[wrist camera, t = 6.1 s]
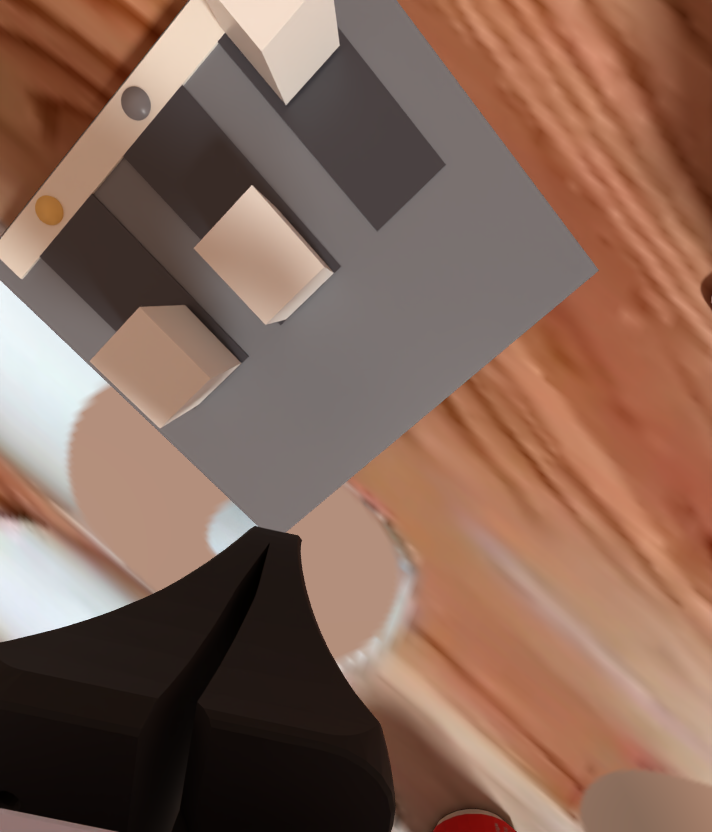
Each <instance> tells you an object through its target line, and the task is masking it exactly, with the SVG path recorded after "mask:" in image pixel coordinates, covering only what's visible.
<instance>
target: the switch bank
mask: <svg viewBox="0 0 712 832" xmlns="http://www.w3.org/2000/svg"><path fill="white" fill-rule="evenodd" d="M334 5H335V13H336V21H337V28H338V36H339V44H340V46H339V47H338V48H337V49H336V50H335V51H334V52H333V54H332V55H331V56H330V57H329V58H328V59H327V60H326V61H325V62H324V64H323V65H322V66H321V67H320V68H319V69H318V70H317V71H316V72H315V74H314V75H313V76H312V77H311V78H310V79H309V80H308V81H307V82H306V84H305V85H304V86H303V87H302V88H301V89H300V90H299V91H298V92H297V94H296V95H295V96H294V97H293V98H292V99H291V100H290V101H289V103H288V104H287V105H285V104H284V102H283V101H282V100H281V99H280V98H279V96H278V95H277V94H276V93H275V92H274V90H273V89H272V88H271V87H270V86H269V84H268V83H267V82H266V81H265V80H264V78H263V77H262V76H261V75H260V74H259V73H258V71H257V70H256V69H255V68H254V67H253V65H252V64H251V63H250V62H249V61H248V59H247V58H246V57H245V56H244V55H243V53H242V52H241V51H240V50H239V49H238V47H237V46H236V45H235V44H234V43H233V41H232V40H231V39H230V38H229V37H228V35H227V34H226V33H225V32H224V31H223V29H222V28H221V26H220V24H219V23H218V21H217V19H216V17H215V16H214V14H213V12H212V10H211V8H210V7H209V5H208V3H207V1H206V0H188V2H187V3H186V4H185V5H184V7H183V8H182V9H181V10H180V12H179V13H178V14H177V15H176V17H175V18H174V19H173V21H172V22H171V23H170V24H169V26H168V27H167V28H166V29H165V31H164V32H163V33H162V34H161V36H160V37H159V38H158V39H157V41H156V42H155V43H154V44H153V46H152V47H151V48H150V49H149V51H148V52H147V53H146V55H145V56H144V57H143V58H142V60H141V61H140V62H139V63H138V65H137V66H136V67H135V68H134V70H133V71H132V72H131V73H130V75H129V76H128V77H127V78H126V80H125V81H124V82H123V83H122V85H121V86H120V87H119V89H118V90H117V91H116V92H115V94H114V95H113V96H112V97H111V99H110V100H109V101H108V102H107V104H106V105H105V106H104V107H103V109H102V110H101V111H100V112H99V114H98V115H97V116H96V117H95V119H94V120H93V121H92V123H91V124H90V125H89V126H88V128H87V129H86V130H85V131H84V133H83V134H82V135H81V136H80V138H79V139H78V140H77V141H76V143H75V144H74V145H73V146H72V148H71V149H70V150H69V151H68V153H67V154H66V155H65V157H64V158H63V159H62V160H61V162H60V163H59V164H58V165H57V167H56V168H55V169H54V170H53V172H52V173H51V174H50V175H49V177H48V178H47V179H46V180H45V182H44V183H43V184H42V185H41V187H40V188H39V189H38V191H37V192H36V193H35V194H34V196H33V197H32V198H31V199H30V201H29V202H28V203H27V204H26V206H25V207H24V208H23V209H22V211H21V212H20V213H19V214H18V216H17V217H16V218H15V219H14V221H13V222H12V223H11V225H10V226H9V227H8V228H7V230H6V231H5V232H4V233H3V235H2V236H1V237H0V280H1V281H2V282H3V283H4V284H5V285H6V286H7V287H8V288H9V289H10V290H11V291H12V292H13V293H14V294H15V295H16V296H17V297H18V298H19V299H20V300H22V301H23V302H24V303H25V304H26V305H27V306H28V307H29V308H30V309H31V310H32V311H33V312H34V313H35V314H36V315H37V316H38V317H39V318H40V319H41V320H42V321H44V322H45V323H46V324H47V325H48V326H49V327H50V328H51V329H52V330H53V331H54V332H55V333H56V334H57V335H58V336H59V337H60V338H61V339H62V340H63V341H65V342H66V343H67V344H68V345H69V346H70V347H71V348H72V349H73V350H74V351H75V352H76V353H77V354H78V355H79V356H80V357H81V358H82V359H83V360H84V361H85V362H87V363H88V364H89V365H90V366H91V367H92V368H93V369H94V370H95V371H96V372H97V373H98V374H99V375H100V376H101V377H102V378H103V379H104V380H105V381H106V382H108V383H109V384H110V385H111V386H112V387H113V388H114V389H115V390H116V391H117V392H118V393H119V394H120V395H121V396H122V397H123V398H124V399H125V400H126V401H127V402H129V403H130V404H131V405H132V406H133V407H134V408H135V409H136V410H137V411H138V412H139V413H140V414H141V415H142V416H143V417H144V418H145V419H146V420H147V421H148V422H149V423H151V424H152V425H153V426H154V427H155V428H156V429H157V430H158V431H159V432H160V433H161V434H162V435H163V436H164V437H165V438H166V439H167V440H169V442H170V443H172V444H173V445H174V446H175V447H176V448H177V449H178V450H179V451H180V452H181V453H182V454H183V455H184V456H185V457H186V458H187V459H188V460H189V461H190V462H191V463H192V464H194V465H195V466H196V467H197V468H198V469H199V470H200V471H201V472H202V473H203V474H204V475H205V476H206V477H207V478H208V479H209V480H210V481H211V482H212V483H214V484H215V485H216V486H217V487H218V488H219V489H220V490H221V491H222V492H223V493H224V494H225V495H226V496H227V497H228V498H229V499H230V500H231V501H232V502H233V503H234V504H235V505H237V506H238V507H239V508H240V509H241V510H242V511H243V512H244V513H245V514H246V515H247V516H248V517H249V518H250V519H251V520H252V521H253V522H254V523H255V524H256V525H258V526H259V527H262V528H266V529H271V530H275V531H280V532H284V533H285V532H287V531H288V530H289V529H290V528H291V527H293V526H294V525H295V524H296V523H297V522H299V521H300V520H301V519H302V518H303V517H305V516H306V515H307V514H308V513H309V512H311V511H312V510H313V509H314V508H315V507H317V506H318V505H319V504H320V503H321V502H323V501H324V500H325V499H326V498H327V497H329V496H330V495H331V494H332V493H333V492H334V491H336V490H337V489H338V488H339V487H340V486H342V485H343V484H344V483H345V482H346V481H348V480H349V479H350V478H351V477H352V476H354V475H355V474H356V473H357V472H358V471H360V470H361V469H362V468H363V467H364V466H366V465H367V464H368V463H369V462H370V461H372V460H373V459H374V458H375V457H376V456H378V455H379V454H380V453H381V452H382V451H384V450H385V449H386V448H387V447H388V446H390V445H391V444H392V443H393V442H394V441H395V440H397V439H398V438H399V437H400V436H401V435H403V434H404V433H405V432H406V431H407V430H409V429H410V428H411V427H412V426H413V425H415V424H416V423H417V422H418V421H419V420H421V419H422V418H423V417H424V416H425V415H427V414H428V413H429V412H430V411H431V410H433V409H434V408H435V407H436V406H437V405H439V404H440V403H441V402H442V401H443V400H444V399H446V398H447V397H448V396H449V395H450V394H452V393H453V392H454V391H455V390H456V389H458V388H459V387H460V386H461V385H462V384H464V383H465V382H466V381H467V380H468V379H470V378H471V377H472V376H473V375H474V374H476V373H477V372H478V371H479V370H480V369H482V368H483V367H484V366H485V365H486V364H488V363H489V362H490V361H491V360H492V359H494V358H495V357H496V356H497V355H498V354H499V353H501V352H502V351H503V350H504V349H505V348H507V347H508V346H509V345H510V344H511V343H513V342H514V341H515V340H516V339H517V338H519V337H520V336H521V335H522V334H523V333H525V332H526V331H527V330H528V329H529V328H531V327H532V326H533V325H534V324H535V323H537V322H538V321H539V320H540V319H541V318H543V317H544V316H545V315H546V314H547V313H548V312H550V311H551V310H552V309H553V308H554V307H556V306H557V305H558V304H559V303H560V302H562V301H563V300H564V299H565V298H566V297H568V296H569V295H570V294H571V293H572V292H574V291H575V290H576V289H577V288H578V287H580V286H581V285H582V284H583V283H584V282H586V281H587V280H588V279H589V278H590V277H592V276H593V275H594V274H595V273H596V272H598V271H599V270H598V269H597V267H596V266H595V265H594V263H593V262H592V261H591V259H590V258H589V257H588V255H587V254H586V253H585V251H584V250H583V249H582V247H581V246H580V245H579V243H578V242H577V241H576V239H575V238H574V237H573V235H572V234H571V233H570V231H569V230H568V229H567V227H566V226H565V225H564V223H563V222H562V221H561V219H560V218H559V217H558V215H557V214H556V213H555V211H554V210H553V209H552V207H551V206H550V205H549V203H548V202H547V201H546V199H545V198H544V197H543V195H542V194H541V193H540V191H539V190H538V189H537V187H536V186H535V185H534V183H533V182H532V181H531V179H530V178H529V177H528V175H527V174H526V173H525V171H524V170H523V169H522V167H521V166H520V165H519V163H518V162H517V161H516V159H515V158H514V157H513V155H512V154H511V153H510V151H509V150H508V149H507V147H506V146H505V144H504V143H503V142H502V140H501V139H500V138H499V136H498V135H497V134H496V132H495V131H494V130H493V128H492V127H491V126H490V124H489V123H488V122H487V120H486V119H485V118H484V116H483V115H482V114H481V112H480V111H479V110H478V108H477V107H476V106H475V104H474V103H473V102H472V100H471V99H470V98H469V96H468V95H467V94H466V92H465V91H464V90H463V88H462V87H461V86H460V84H459V83H458V82H457V80H456V79H455V78H454V76H453V75H452V74H451V72H450V71H449V70H448V68H447V67H446V66H445V64H444V63H443V62H442V60H441V59H440V58H439V56H438V55H437V54H436V52H435V51H434V50H433V48H432V47H431V46H430V44H429V43H428V42H427V40H426V39H425V38H424V36H423V35H422V34H421V32H420V31H419V30H418V28H417V27H416V26H415V24H414V23H413V22H412V20H411V19H410V18H409V16H408V15H407V14H406V12H405V11H404V10H403V8H402V7H401V6H400V4H399V3H398V2H397V0H334ZM251 185H253V186H254V187H255V188H256V189H257V190H258V191H259V192H260V193H261V194H262V195H263V196H264V197H265V198H266V199H268V200H269V201H270V202H271V203H272V204H273V205H274V206H275V207H276V208H277V209H278V210H279V211H280V212H281V213H282V215H283V216H284V217H285V218H286V219H287V220H288V221H289V222H290V224H291V225H292V226H293V227H294V228H295V229H296V230H297V232H298V233H299V234H300V235H301V236H302V237H303V238H304V240H305V241H306V242H307V243H308V244H309V245H310V246H311V247H312V249H313V250H314V251H315V252H316V253H317V254H318V255H319V257H320V258H321V259H322V260H323V261H324V262H325V263H326V264H327V266H328V267H329V268H330V269H331V270H332V271H333V272H334V273H333V274H332V275H331V276H330V277H329V278H328V279H327V280H326V281H325V282H324V283H323V284H322V285H321V286H320V287H319V288H318V289H317V290H316V291H315V292H314V293H313V294H312V295H311V296H310V297H309V298H308V299H307V300H306V301H305V302H304V303H303V304H302V305H301V306H300V307H298V308H297V309H296V310H295V311H294V312H293V313H292V314H291V315H290V316H289V317H288V318H287V319H286V320H282V321H278V322H274V323H270V324H266V325H265V324H264V323H263V322H262V321H261V320H260V319H259V317H258V316H257V315H256V314H255V313H254V312H253V311H252V310H251V309H250V308H249V307H248V306H247V305H246V304H245V303H244V301H243V300H242V299H241V298H240V297H239V296H238V295H237V294H236V293H235V292H234V291H233V290H232V289H231V288H230V287H229V285H228V284H227V283H226V282H225V281H224V280H223V279H222V278H221V277H220V276H219V275H218V274H217V273H216V272H215V271H214V270H213V268H212V267H211V266H210V265H209V264H208V263H207V262H206V261H205V260H204V259H203V258H202V257H201V256H200V255H199V254H198V252H197V251H196V250H195V249H194V247H195V246H196V245H197V244H198V243H199V242H200V241H201V240H202V239H203V237H204V236H205V235H206V234H207V233H208V232H209V231H210V230H211V229H212V228H213V227H214V226H215V224H216V223H217V222H218V221H219V220H220V219H221V218H222V217H223V216H224V215H225V214H226V213H227V211H228V210H229V209H230V208H231V207H232V206H233V205H234V204H235V203H236V202H237V201H238V200H239V198H240V197H241V196H242V195H243V194H244V193H245V192H246V191H247V190H248V189H249V188H250V187H251ZM173 305H185V306H186V307H187V308H188V309H189V310H190V311H191V312H192V313H193V314H194V315H195V316H196V317H197V318H198V319H199V320H200V321H201V322H202V323H203V324H204V325H205V326H206V327H207V328H208V329H209V330H210V331H211V332H212V333H213V334H214V335H215V336H216V338H217V339H218V340H219V341H220V342H221V343H222V344H223V345H224V346H225V347H226V348H227V349H228V350H229V351H230V352H231V353H232V354H233V355H234V356H235V357H236V358H237V359H238V360H239V361H240V362H241V364H240V365H239V366H238V367H237V368H236V369H235V370H234V371H233V372H232V373H231V374H230V375H229V376H228V377H227V378H226V379H225V380H224V381H222V382H221V383H220V384H219V385H218V386H217V387H216V388H215V389H214V390H213V391H212V392H211V393H210V394H209V395H208V396H207V397H206V398H205V399H204V400H203V401H202V402H201V403H200V404H199V405H197V406H196V407H194V408H192V409H191V410H189V411H187V412H186V413H184V414H183V415H181V416H179V417H178V418H176V419H175V420H173V421H171V422H170V423H168V424H166V425H165V426H163V427H162V428H159V427H158V426H157V425H156V424H154V423H153V422H152V421H151V420H150V419H149V418H148V417H147V416H146V415H145V414H144V413H143V412H142V411H141V410H140V409H139V408H138V407H137V406H136V405H135V404H134V403H133V402H131V401H130V400H129V399H128V398H127V397H126V396H125V395H124V394H123V393H122V392H121V391H120V390H119V389H118V388H117V387H116V386H115V385H114V384H113V383H112V382H111V381H109V380H108V379H107V378H106V377H105V376H104V375H103V374H102V373H101V372H100V371H99V370H98V369H97V368H96V367H95V366H94V365H93V364H92V363H91V362H90V360H91V359H92V358H93V357H94V356H95V355H96V354H97V352H98V351H99V350H100V349H101V348H102V347H103V346H104V345H105V344H106V343H107V342H108V341H109V339H110V338H111V337H112V336H113V335H114V334H115V333H116V332H117V331H118V330H119V329H120V328H121V326H122V325H123V324H124V323H125V322H126V321H127V320H128V319H129V318H130V317H131V316H132V314H133V313H134V312H135V311H136V310H137V309H138V308H139V307H148V306H173Z"/></svg>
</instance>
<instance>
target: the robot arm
mask: <svg viewBox="0 0 712 832" xmlns="http://www.w3.org/2000/svg"><path fill="white" fill-rule="evenodd" d="M711 303H712V297H711ZM301 542H302V540H301V538H300V537H299V536H298V535H293V534H289V533H284V532H280V531H275V530H271V529H266V528H262V527H257V526H254V527H253V528H251V529H250V530H248V531H247V532H246V533H245V534H244V535H242V536H241V537H240V538H239V539H238V540H236V541H235V542H234V543H233V544H231V545H230V546H229V547H227V548H226V549H225V550H223V551H222V552H221V553H219V554H218V555H217V556H215V557H214V558H212V559H211V560H210V561H208V562H207V563H206V564H204V565H202V566H201V567H199V568H198V569H196V570H195V571H193V572H191V573H190V574H188V575H187V576H185V577H184V578H182V579H180V580H178V581H177V582H175V583H173V584H171V585H169V586H168V587H166V588H164V589H162V590H160V591H158V592H156V593H154V594H152V595H150V596H148V597H145V598H143V599H140V600H138V601H136V602H133V603H131V604H128V605H126V606H124V607H121V608H119V609H116V610H114V611H111V612H109V613H106V614H103V615H100V616H97V617H94V618H91V619H89V620H85V621H82V622H79V623H76V624H72V625H69V626H66V627H62V628H59V629H55V630H51V631H47V632H43V633H39V634H35V635H31V636H27V637H23V638H18V639H14V640H10V641H5V642H1V643H0V832H391V830H392V827H393V821H394V815H395V794H394V786H393V779H392V772H391V766H390V761H389V756H388V751H387V747H386V743H385V739H384V735H383V731H382V727H381V725H380V723H379V722H378V721H377V719H376V718H375V717H374V716H373V714H372V713H371V712H370V711H369V710H368V708H367V707H366V706H365V705H364V703H363V702H362V701H361V700H360V699H359V697H358V696H357V695H356V694H355V692H354V691H353V689H352V688H351V686H350V685H349V683H348V682H347V680H346V679H345V677H344V675H343V674H342V672H341V670H340V668H339V667H338V665H337V663H336V661H335V660H334V658H333V656H332V654H331V653H330V651H329V649H328V647H327V645H326V642H325V640H324V639H323V636H322V634H321V631H320V629H319V627H318V624H317V622H316V619H315V616H314V614H313V610H312V608H311V604H310V601H309V597H308V594H307V590H306V586H305V581H304V576H303V571H302V564H301V552H300V550H301Z"/></svg>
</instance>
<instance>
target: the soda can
mask: <svg viewBox="0 0 712 832" xmlns="http://www.w3.org/2000/svg"><path fill="white" fill-rule="evenodd" d="M433 832H517V831H515V830H514V829H513V828H512V827H511V826H510V825H508V824H507V823H506V822H505V821H504V820H502V819H501V818H500V817H499V816H498V815H496V814H493V813H491V812H489V811H484V810H479V809H465V810H460V811H455V812H453V813H451V814H448V815H446V816H445V817H444V818H442V819H441V820H439V822H438V824H437V826H436V827H435V829H434V830H433Z"/></svg>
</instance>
